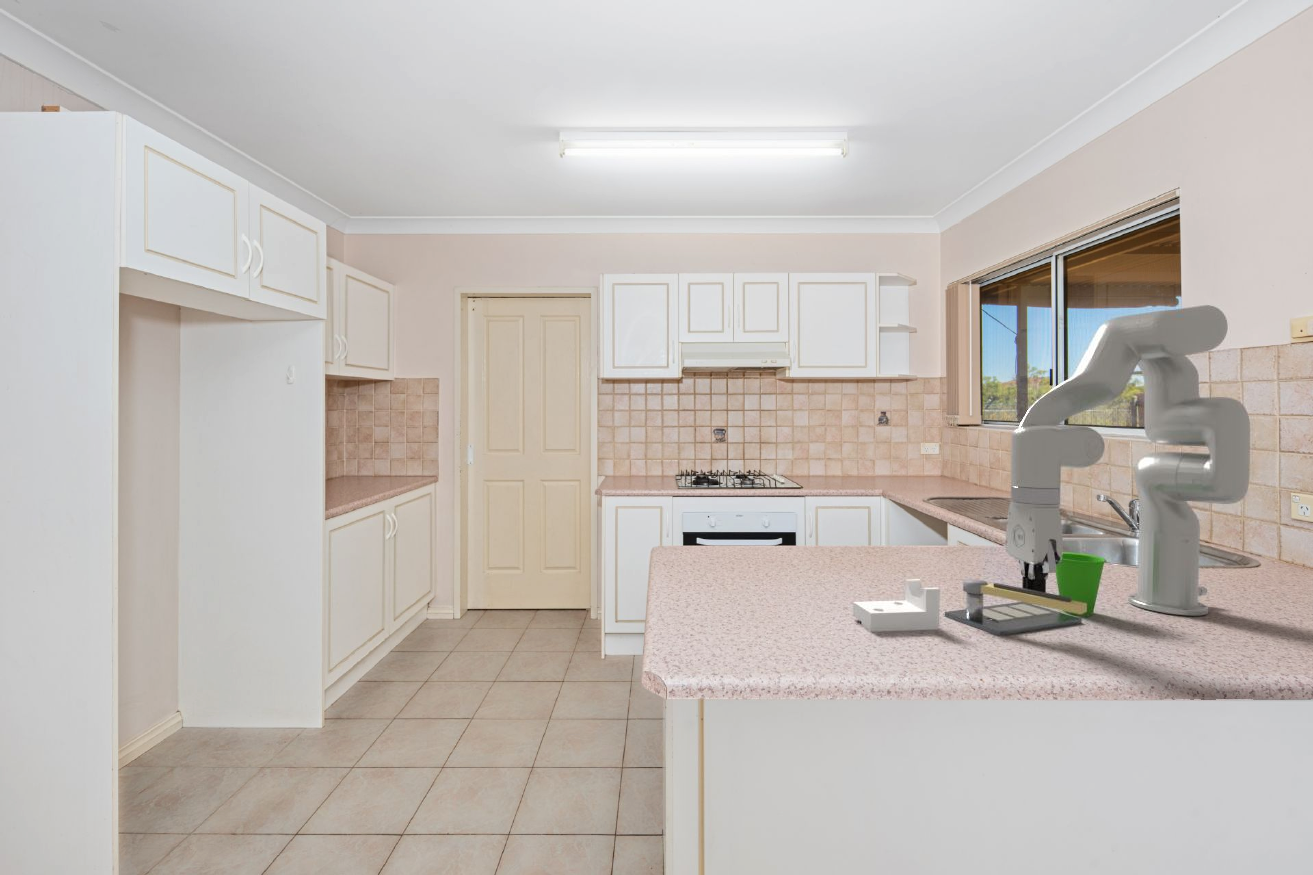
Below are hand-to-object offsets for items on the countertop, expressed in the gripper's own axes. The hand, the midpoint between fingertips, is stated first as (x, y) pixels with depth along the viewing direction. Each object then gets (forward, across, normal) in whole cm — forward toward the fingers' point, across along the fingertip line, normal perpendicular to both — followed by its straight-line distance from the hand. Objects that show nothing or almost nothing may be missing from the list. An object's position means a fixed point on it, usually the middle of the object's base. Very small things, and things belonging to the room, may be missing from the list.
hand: (1033, 599), depth 111 cm
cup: (+6, -13, +16) cm, 21 cm away
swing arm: (0, +1, -3) cm, 3 cm away
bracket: (+6, -4, -23) cm, 24 cm away
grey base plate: (+6, -7, 0) cm, 9 cm away
